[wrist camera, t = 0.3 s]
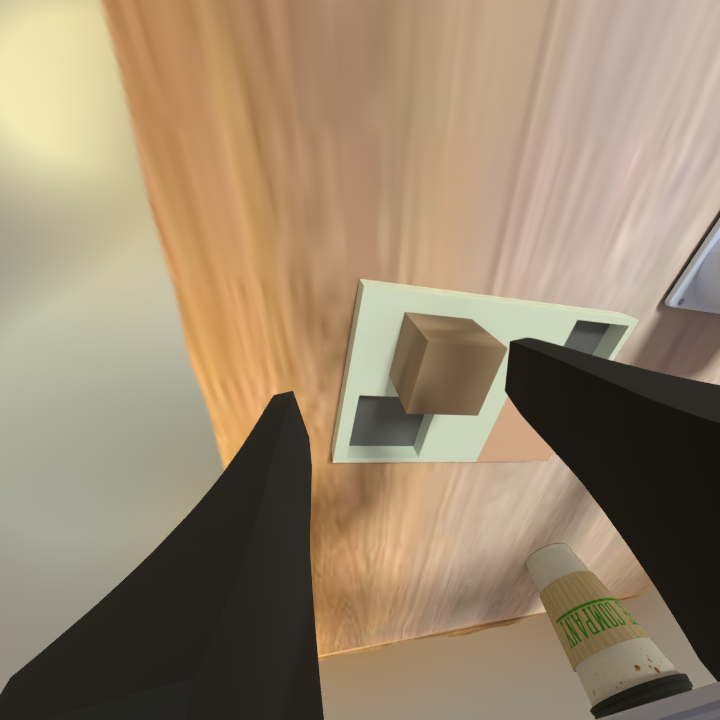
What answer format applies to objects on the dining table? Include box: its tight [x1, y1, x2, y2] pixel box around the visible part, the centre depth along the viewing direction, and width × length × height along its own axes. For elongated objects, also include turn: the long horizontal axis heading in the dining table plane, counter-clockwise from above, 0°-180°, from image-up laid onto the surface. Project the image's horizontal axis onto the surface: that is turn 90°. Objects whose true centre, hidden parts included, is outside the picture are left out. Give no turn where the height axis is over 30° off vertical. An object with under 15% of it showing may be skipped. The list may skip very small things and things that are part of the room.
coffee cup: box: [526, 543, 693, 719], centre depth 35 cm, size 10×10×15 cm
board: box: [331, 279, 639, 463], centre depth 23 cm, size 20×14×2 cm
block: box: [389, 312, 508, 416], centre depth 18 cm, size 4×4×4 cm
